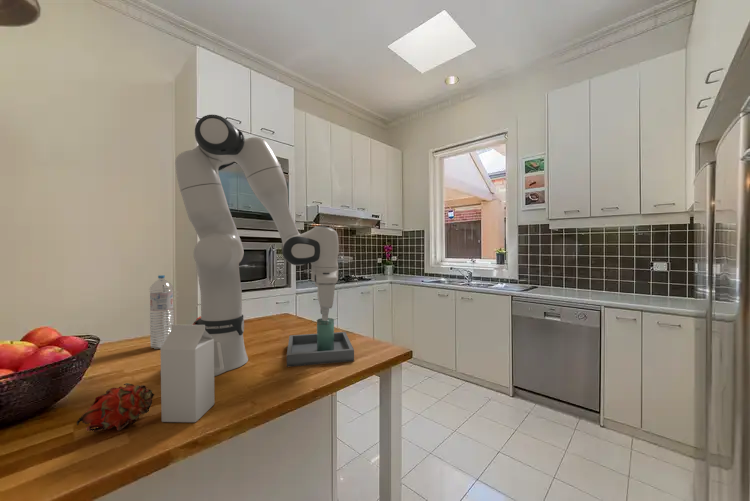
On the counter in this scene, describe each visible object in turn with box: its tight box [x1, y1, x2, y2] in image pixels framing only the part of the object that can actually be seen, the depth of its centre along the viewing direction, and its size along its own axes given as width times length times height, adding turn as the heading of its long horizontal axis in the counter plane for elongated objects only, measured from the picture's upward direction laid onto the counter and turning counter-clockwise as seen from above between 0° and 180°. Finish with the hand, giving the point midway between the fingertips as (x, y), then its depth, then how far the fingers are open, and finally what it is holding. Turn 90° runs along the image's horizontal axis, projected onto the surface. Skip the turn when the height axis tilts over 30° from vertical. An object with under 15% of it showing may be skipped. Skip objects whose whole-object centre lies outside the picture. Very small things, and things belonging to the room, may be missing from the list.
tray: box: [286, 331, 355, 368], centre depth 103 cm, size 20×20×4 cm
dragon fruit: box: [76, 382, 156, 433], centre depth 62 cm, size 8×8×12 cm
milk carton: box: [159, 324, 216, 423], centre depth 66 cm, size 7×7×19 cm
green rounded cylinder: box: [316, 317, 335, 351], centre depth 103 cm, size 6×6×10 cm
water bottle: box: [149, 274, 175, 350], centre depth 109 cm, size 7×7×25 cm
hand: (323, 316), depth 103 cm, fingers open, 8 cm apart
